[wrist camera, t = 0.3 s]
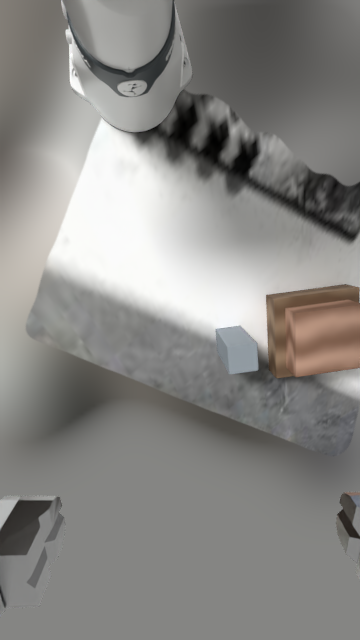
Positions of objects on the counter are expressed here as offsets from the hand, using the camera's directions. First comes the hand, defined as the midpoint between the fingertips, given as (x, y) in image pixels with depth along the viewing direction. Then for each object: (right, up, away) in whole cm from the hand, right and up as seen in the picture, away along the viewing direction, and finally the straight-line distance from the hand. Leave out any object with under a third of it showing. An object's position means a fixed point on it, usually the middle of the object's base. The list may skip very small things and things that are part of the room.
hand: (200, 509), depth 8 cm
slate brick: (+9, +2, +49) cm, 50 cm away
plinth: (+25, +4, +49) cm, 56 cm away
